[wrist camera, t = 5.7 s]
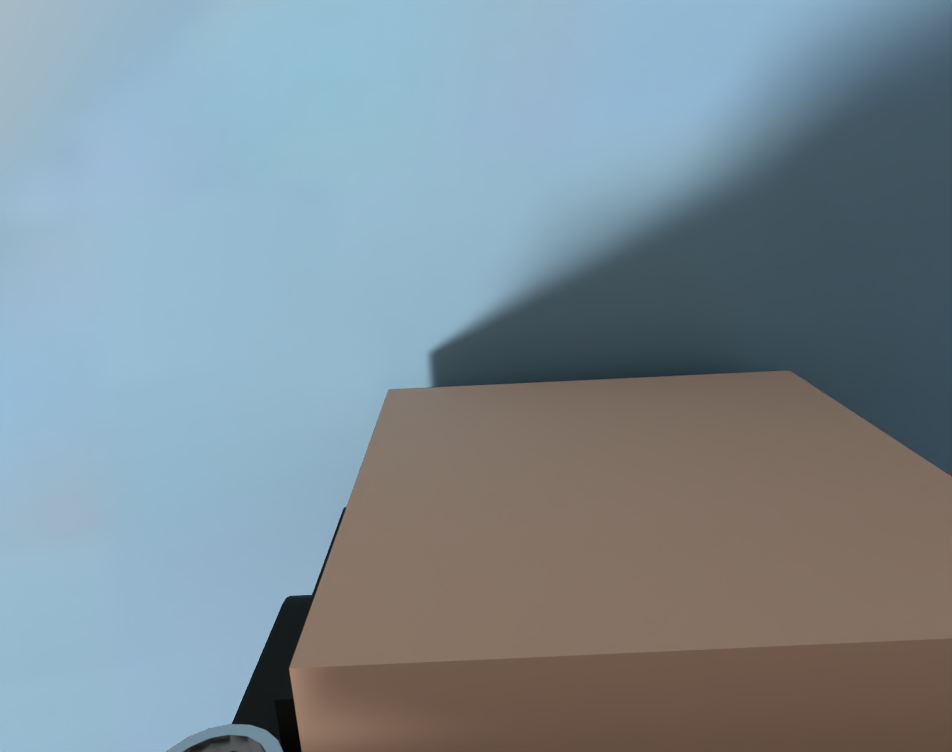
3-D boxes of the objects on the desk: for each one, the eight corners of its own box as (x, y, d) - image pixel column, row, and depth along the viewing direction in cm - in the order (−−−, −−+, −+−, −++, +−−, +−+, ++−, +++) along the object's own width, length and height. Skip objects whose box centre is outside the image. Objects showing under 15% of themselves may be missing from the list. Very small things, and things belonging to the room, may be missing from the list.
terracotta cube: (789, 370, 10) (1182, 627, 5) (760, 698, 12) (1018, 1177, 6) (388, 389, 10) (289, 667, 5) (417, 714, 12) (371, 1204, 6)
